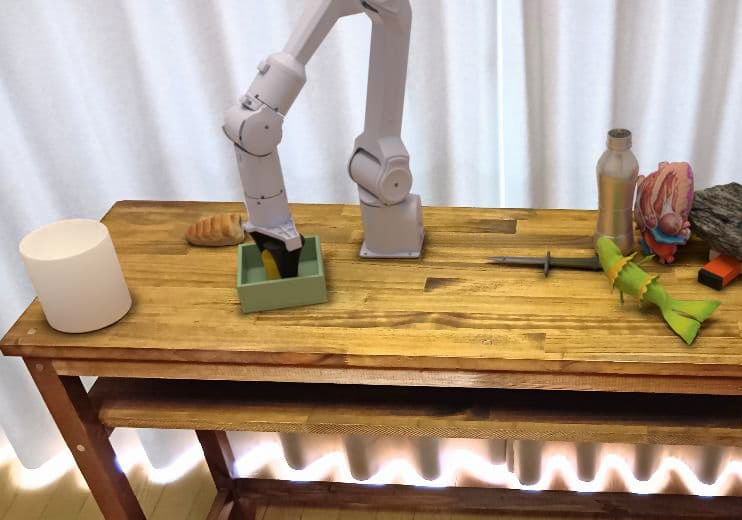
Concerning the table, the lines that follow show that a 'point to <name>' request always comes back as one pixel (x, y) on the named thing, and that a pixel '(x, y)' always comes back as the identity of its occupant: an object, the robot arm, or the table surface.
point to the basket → (282, 291)
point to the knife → (552, 261)
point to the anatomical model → (664, 208)
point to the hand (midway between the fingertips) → (282, 272)
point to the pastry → (217, 230)
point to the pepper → (270, 266)
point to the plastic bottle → (616, 191)
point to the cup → (76, 275)
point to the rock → (719, 218)
